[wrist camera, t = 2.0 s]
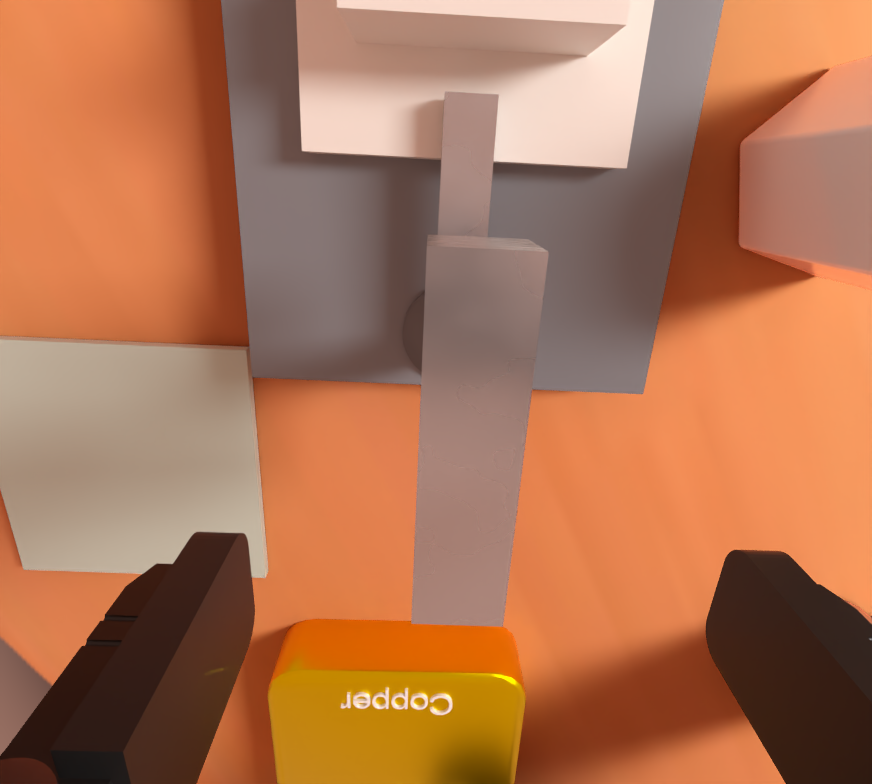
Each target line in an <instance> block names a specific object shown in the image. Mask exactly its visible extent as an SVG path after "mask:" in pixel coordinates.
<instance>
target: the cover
mask: <svg viewBox="0 0 872 784" xmlns="http://www.w3.org/2000/svg"><path fill="white" fill-rule="evenodd" d="M653 7H654V0H296V18H297V43H298V68H299V93H300V118H301V143H302V151H304V152H308V153H320V154H339V155H358V156H376V157H395V158H414V159H433V160H441V152H442V131H443V110H444V94H445V91H447V92H465V93H482V94H499V99H498V111H497V124H496V136H495V148H494V161H493V163H508V164H527V165H546V166H564V167H583V168H602V169H625V168H627V163H628V157H629V151H630V145H631V139H632V133H633V127H634V121H635V115H636V109H637V103H638V97H639V91H640V85H641V79H642V73H643V67H644V61H645V55H646V49H647V43H648V37H649V31H650V25H651V19H652V13H653Z"/></svg>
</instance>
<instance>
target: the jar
mask: <svg viewBox="0 0 872 784" xmlns="http://www.w3.org/2000/svg"><path fill="white" fill-rule="evenodd" d="M739 245H740V246H741V247H742V248H744V249H747V250H749V251H752V252H754V253H757V254H760V255H762V256H765V257H768V258H770V259H773V260H775V261H778V262H781V263H783V264H786V265H788V266H791V267H794V268H796V269H799V270H801V271H804V272H807V273H809V274H812V275H815V276H817V277H820V278H824V279H828V280H832V281H836V282H840V283H844V284H848V285H852V286H856V287H860V288H864V289H868V290H872V56H868V57H864V58H861V59H857V60H854V61H850V62H847V63H843V64H840V65H836V66H834V67H833V68H831V69H830V70H829V71H828V72H826V73H825V74H824V75H823V76H821V77H820V78H819V79H818V80H817V81H815V82H814V83H813V84H812V85H810V86H809V87H808V88H807V89H805V90H804V91H803V92H802V93H801V94H799V95H798V96H797V97H796V98H794V99H793V100H792V101H791V102H789V103H788V104H787V105H786V106H785V107H783V108H782V109H781V110H780V111H778V112H777V113H776V114H775V115H773V116H772V117H771V118H770V119H769V120H767V121H766V122H765V123H764V124H762V125H761V126H760V127H759V128H757V129H756V130H755V131H754V132H752V133H751V134H750V135H749V136H748V137H746V138H745V139H744V140H743V141H742V142H741V145H740V188H739Z"/></svg>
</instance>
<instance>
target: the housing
mask: <svg viewBox="0 0 872 784" xmlns="http://www.w3.org/2000/svg"><path fill="white" fill-rule="evenodd" d="M723 3H724V0H654V7H653V13H652V19H651V25H650V31H649V37H648V43H647V49H646V55H645V61H644V67H643V73H642V79H641V85H640V91H639V97H638V103H637V109H636V115H635V121H634V127H633V133H632V139H631V145H630V151H629V157H628V163H627V168H625V169H602V168H583V167H564V166H546V165H527V164H508V163H493V173H492V186H491V198H490V210H489V223H488V235H487V237H494V238H514V239H529V240H530V241H532V242H534V243H535V244H537V245H539V246H540V247H542V248H543V249H545V250H547V251H548V252H549V254H548V263H547V271H546V279H545V287H544V295H543V303H542V311H541V320H540V328H539V336H538V344H537V352H536V360H535V368H534V377H533V385H532V389H535V390H558V391H582V392H605V393H628V394H643V392H644V387H645V382H646V377H647V373H648V368H649V363H650V358H651V353H652V348H653V343H654V339H655V334H656V329H657V324H658V319H659V314H660V309H661V304H662V300H663V295H664V290H665V285H666V280H667V275H668V270H669V266H670V261H671V256H672V251H673V246H674V241H675V236H676V231H677V227H678V222H679V217H680V212H681V207H682V202H683V197H684V192H685V188H686V183H687V178H688V173H689V168H690V163H691V158H692V154H693V149H694V144H695V139H696V134H697V129H698V124H699V119H700V115H701V110H702V105H703V100H704V95H705V90H706V85H707V80H708V76H709V71H710V66H711V61H712V56H713V51H714V46H715V42H716V37H717V32H718V27H719V22H720V17H721V12H722V7H723ZM221 7H222V19H223V31H224V43H225V55H226V67H227V79H228V92H229V104H230V116H231V128H232V140H233V152H234V164H235V176H236V188H237V201H238V213H239V225H240V237H241V249H242V261H243V273H244V285H245V297H246V310H247V322H248V334H249V346H250V358H251V370H252V377H255V378H278V379H302V380H325V381H348V382H372V383H395V384H418V385H421V377H422V352H423V328H424V304H425V279H426V255H427V238H428V234H433V235H438V215H439V194H440V173H441V160H433V159H414V158H395V157H376V156H358V155H339V154H320V153H308V152H304V151H302V143H301V118H300V93H299V68H298V43H297V18H296V0H221Z"/></svg>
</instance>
